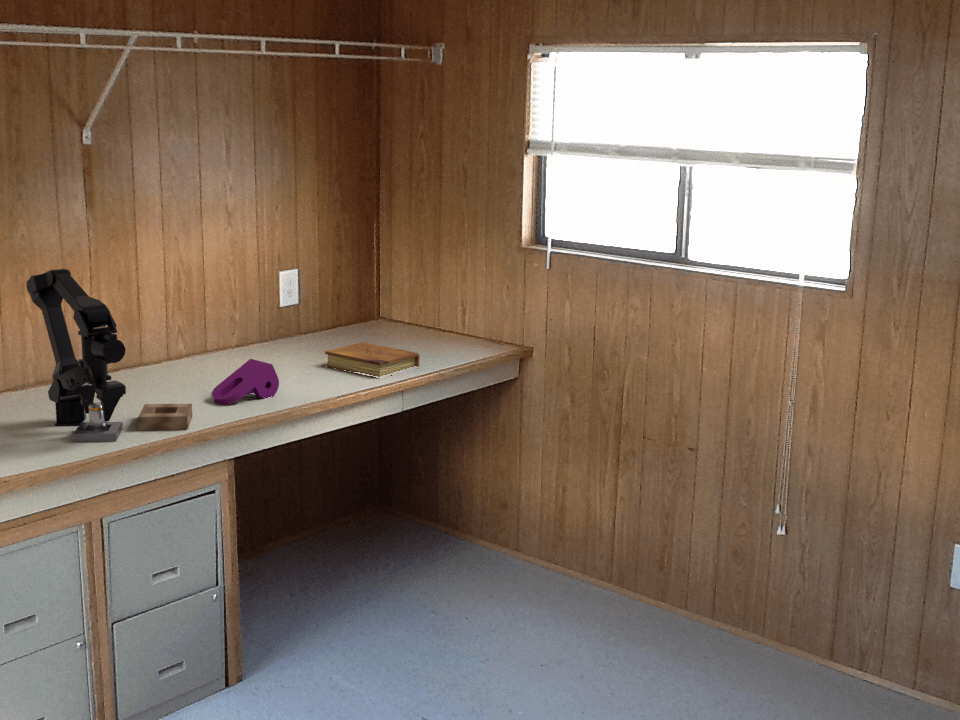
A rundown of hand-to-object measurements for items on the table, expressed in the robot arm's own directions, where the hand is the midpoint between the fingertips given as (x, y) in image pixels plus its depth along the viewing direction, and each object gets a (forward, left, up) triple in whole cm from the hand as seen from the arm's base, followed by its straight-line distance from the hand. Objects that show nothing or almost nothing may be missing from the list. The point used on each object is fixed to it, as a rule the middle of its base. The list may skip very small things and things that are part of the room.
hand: (97, 417), depth 279 cm
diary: (+71, +69, -5) cm, 99 cm away
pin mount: (0, 0, -5) cm, 5 cm away
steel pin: (0, 0, -5) cm, 5 cm away
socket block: (+15, +10, -5) cm, 19 cm away
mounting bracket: (+33, +34, -5) cm, 47 cm away
